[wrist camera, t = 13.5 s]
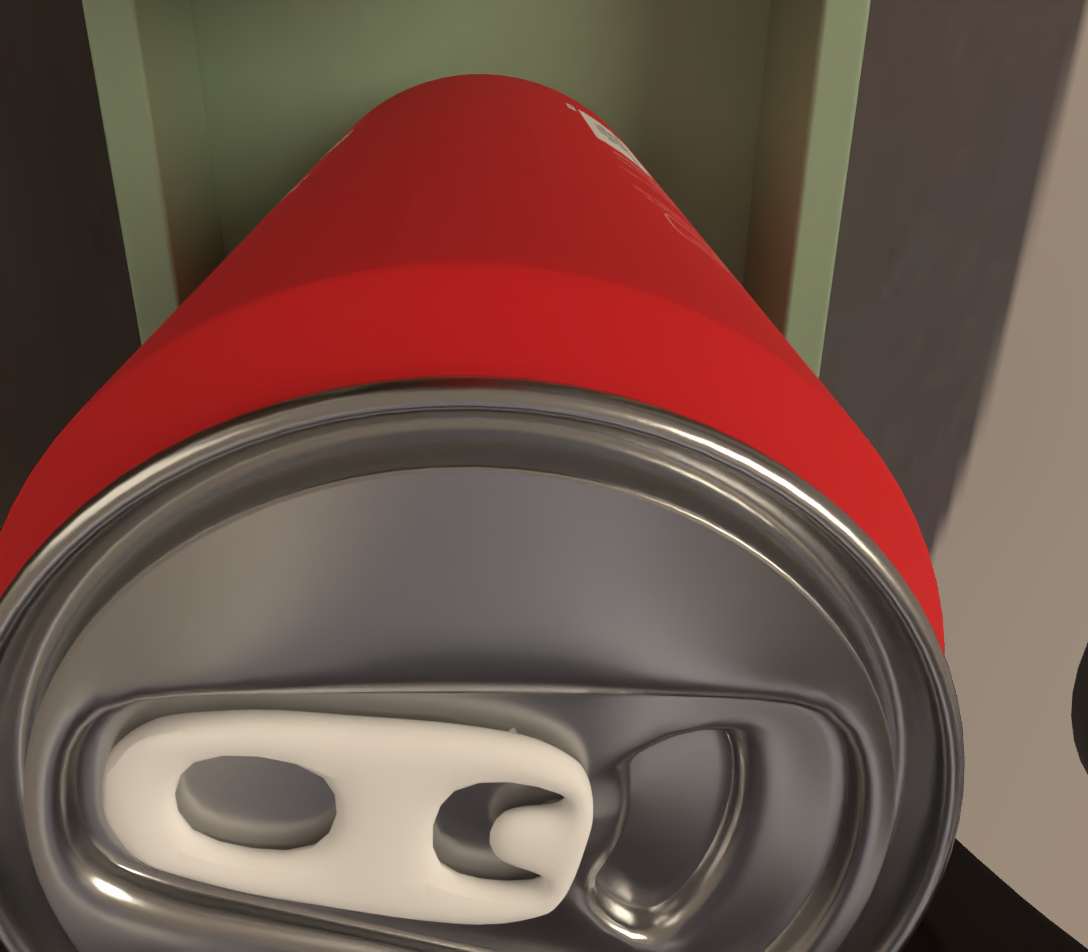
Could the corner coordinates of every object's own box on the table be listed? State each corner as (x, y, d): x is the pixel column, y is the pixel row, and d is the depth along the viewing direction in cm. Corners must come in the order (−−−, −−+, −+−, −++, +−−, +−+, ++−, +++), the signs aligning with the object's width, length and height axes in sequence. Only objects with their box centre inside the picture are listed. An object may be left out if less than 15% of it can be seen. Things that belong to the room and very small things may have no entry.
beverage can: (610, 429, 17) (819, 1211, 6) (298, 376, 16) (-81, 1148, 6) (691, 108, 15) (1233, 450, 4) (333, 31, 14) (-180, 195, 3)
